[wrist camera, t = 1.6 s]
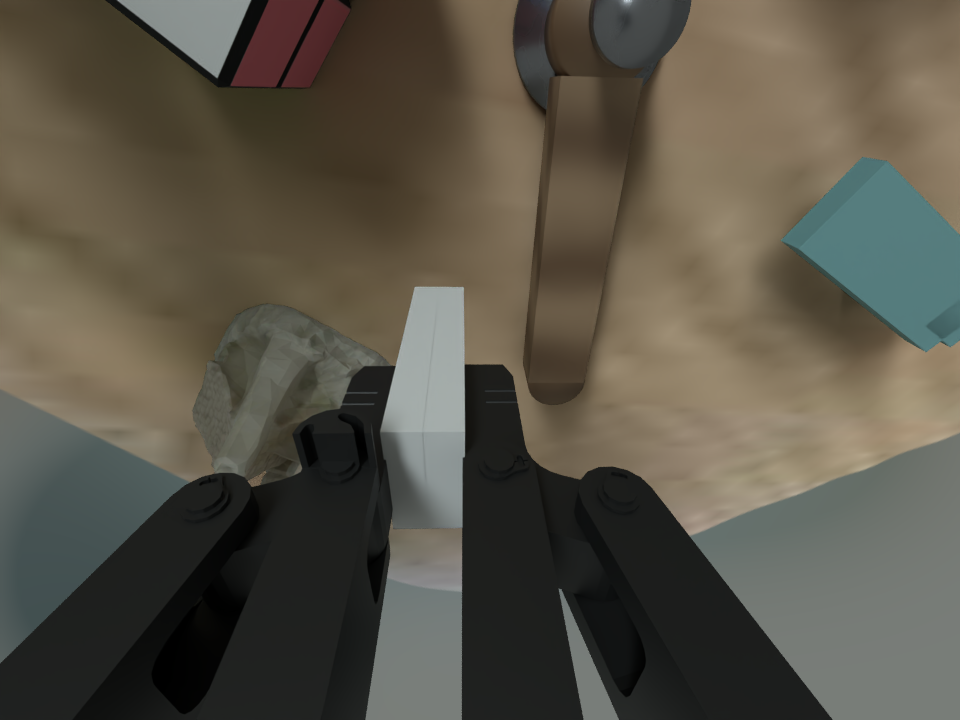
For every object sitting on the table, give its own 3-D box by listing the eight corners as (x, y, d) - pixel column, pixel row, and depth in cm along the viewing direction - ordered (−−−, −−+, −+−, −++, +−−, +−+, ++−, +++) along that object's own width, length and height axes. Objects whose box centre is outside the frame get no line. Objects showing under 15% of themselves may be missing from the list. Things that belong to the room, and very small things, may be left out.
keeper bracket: (732, 217, 28) (798, 248, 23) (797, 145, 26) (887, 161, 20) (854, 313, 32) (934, 358, 27) (918, 258, 30) (1019, 296, 25)
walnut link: (549, -37, 20) (562, -55, 18) (652, -33, 20) (679, -50, 18) (514, 381, 33) (519, 405, 31) (577, 380, 34) (586, 404, 31)
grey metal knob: (518, -76, 20) (547, -158, 13) (682, -68, 20) (791, -145, 14) (508, 118, 24) (526, 129, 18) (643, 121, 25) (712, 133, 18)
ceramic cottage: (264, 274, 29) (118, 439, 17) (445, 396, 36) (433, 573, 24) (175, 398, 35) (25, 581, 23) (343, 480, 42) (294, 653, 30)
